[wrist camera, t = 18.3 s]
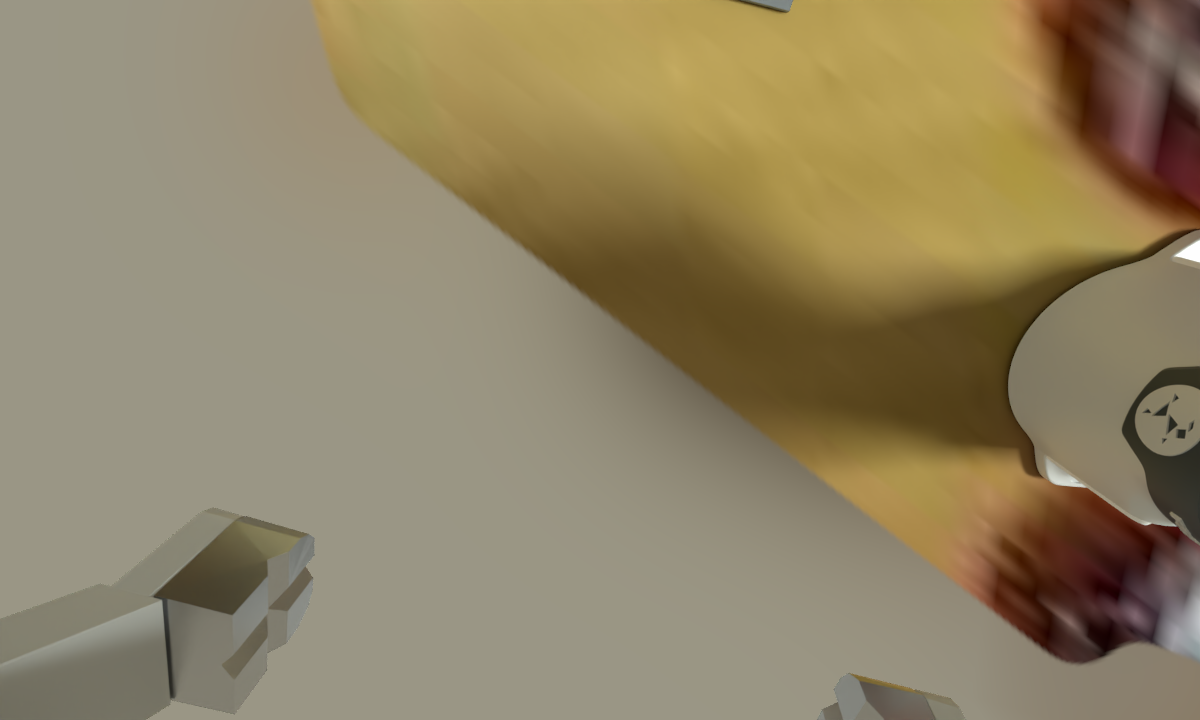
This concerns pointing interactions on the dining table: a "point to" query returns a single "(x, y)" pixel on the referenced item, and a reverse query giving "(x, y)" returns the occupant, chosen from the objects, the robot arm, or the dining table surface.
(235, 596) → the robot arm
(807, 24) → the dining table surface
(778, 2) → the socket dock
